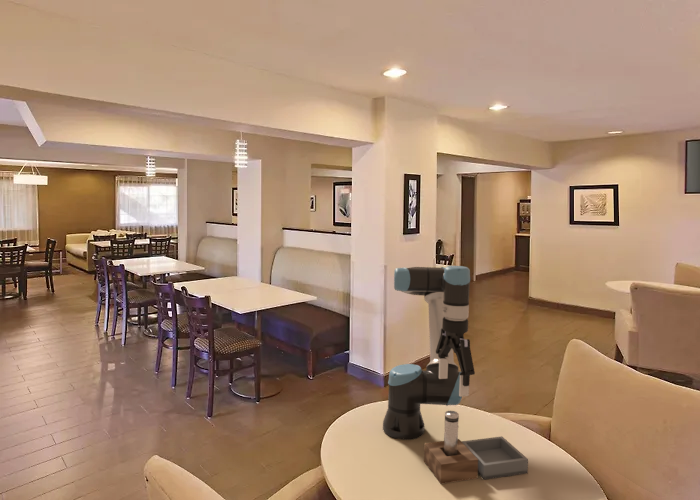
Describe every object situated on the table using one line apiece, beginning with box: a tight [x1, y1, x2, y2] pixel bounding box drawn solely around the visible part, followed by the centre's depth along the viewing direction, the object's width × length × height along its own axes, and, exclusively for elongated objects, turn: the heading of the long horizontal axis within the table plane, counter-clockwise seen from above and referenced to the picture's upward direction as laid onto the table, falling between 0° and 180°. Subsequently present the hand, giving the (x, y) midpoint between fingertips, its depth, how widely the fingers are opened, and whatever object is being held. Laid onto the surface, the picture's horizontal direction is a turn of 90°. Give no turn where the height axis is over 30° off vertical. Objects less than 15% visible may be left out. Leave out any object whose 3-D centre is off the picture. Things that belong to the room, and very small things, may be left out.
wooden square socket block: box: [423, 438, 479, 485], centre depth 136 cm, size 12×12×6 cm
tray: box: [460, 435, 529, 480], centre depth 140 cm, size 14×15×4 cm
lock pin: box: [443, 410, 460, 456], centre depth 136 cm, size 4×4×18 cm
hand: (452, 386), depth 134 cm, fingers open, 13 cm apart
